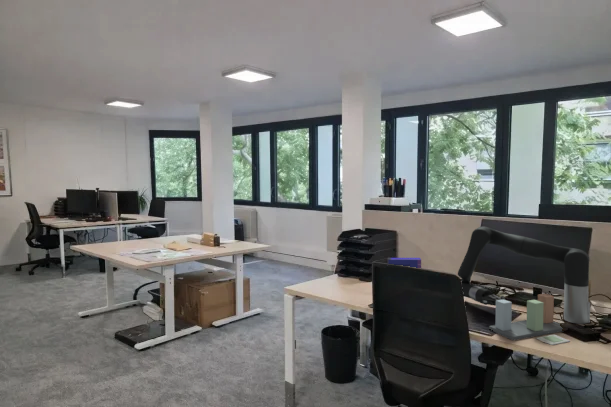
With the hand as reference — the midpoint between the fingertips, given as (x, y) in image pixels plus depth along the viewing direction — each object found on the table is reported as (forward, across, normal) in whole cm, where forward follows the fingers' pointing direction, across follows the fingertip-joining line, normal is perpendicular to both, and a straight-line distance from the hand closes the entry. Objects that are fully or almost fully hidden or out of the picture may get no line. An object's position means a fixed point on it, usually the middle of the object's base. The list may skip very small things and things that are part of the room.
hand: (507, 305), depth 185 cm
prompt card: (+24, 0, +8) cm, 25 cm away
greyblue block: (+9, -12, +6) cm, 16 cm away
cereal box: (-44, -28, +8) cm, 53 cm away
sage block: (+15, 0, +6) cm, 16 cm away
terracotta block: (+10, +12, +6) cm, 17 cm away
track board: (+12, 0, +8) cm, 14 cm away
